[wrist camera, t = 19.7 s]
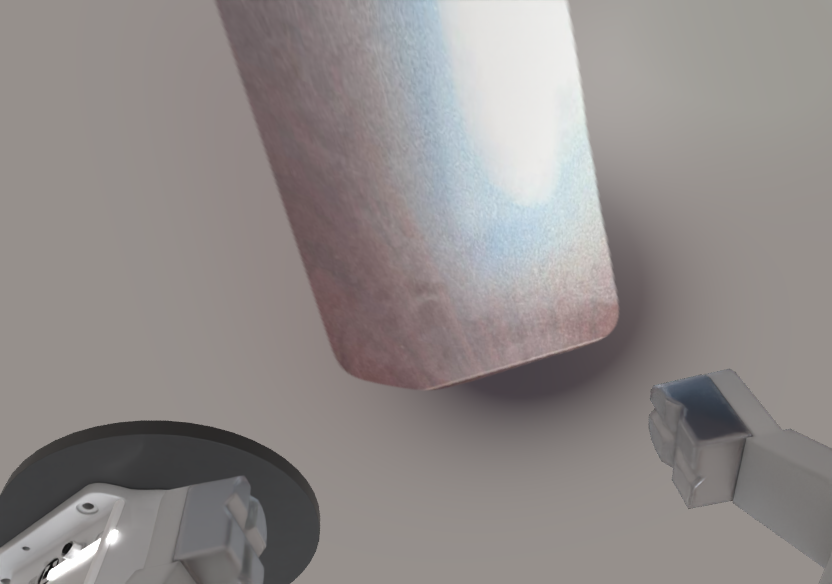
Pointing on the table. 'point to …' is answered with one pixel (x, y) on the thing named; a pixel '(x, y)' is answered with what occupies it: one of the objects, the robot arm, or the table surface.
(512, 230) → the table surface
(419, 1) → the table surface
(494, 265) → the table surface
